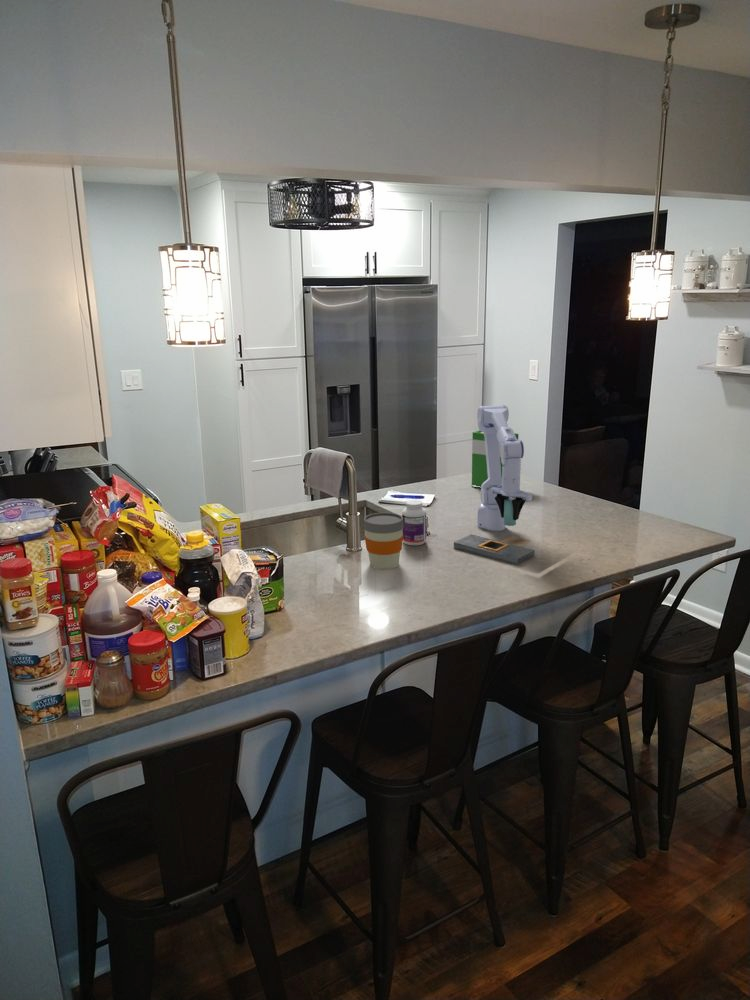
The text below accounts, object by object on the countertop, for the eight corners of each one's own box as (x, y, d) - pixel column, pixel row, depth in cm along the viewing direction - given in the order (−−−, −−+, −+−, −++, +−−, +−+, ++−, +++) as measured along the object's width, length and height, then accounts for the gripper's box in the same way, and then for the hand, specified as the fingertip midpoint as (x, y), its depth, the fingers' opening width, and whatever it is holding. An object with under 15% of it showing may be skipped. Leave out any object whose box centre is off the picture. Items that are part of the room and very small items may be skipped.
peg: (501, 524, 233) (501, 500, 231) (507, 521, 236) (508, 498, 233) (511, 526, 230) (512, 502, 228) (518, 523, 233) (519, 500, 231)
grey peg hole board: (453, 550, 233) (453, 541, 232) (471, 542, 240) (471, 533, 239) (517, 568, 217) (517, 557, 217) (534, 558, 225) (534, 549, 224)
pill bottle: (409, 537, 247) (409, 497, 243) (430, 541, 243) (430, 500, 239) (398, 544, 240) (397, 503, 236) (419, 548, 236) (419, 506, 232)
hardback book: (516, 489, 303) (518, 433, 296) (508, 493, 297) (510, 436, 291) (480, 483, 313) (481, 429, 307) (471, 487, 308) (472, 432, 301)
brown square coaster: (497, 544, 238) (498, 541, 237) (510, 538, 243) (510, 535, 243) (518, 549, 233) (518, 547, 232) (531, 543, 238) (531, 540, 238)
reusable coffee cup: (370, 573, 216) (369, 526, 212) (360, 559, 228) (358, 514, 223) (409, 568, 219) (409, 522, 215) (397, 554, 231) (396, 510, 226)
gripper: (485, 477, 230) (484, 516, 234) (524, 483, 221) (523, 525, 225) (496, 472, 235) (495, 511, 239) (536, 479, 226) (534, 520, 230)
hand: (509, 518), depth 232 cm, fingers closed on peg, 4 cm apart
